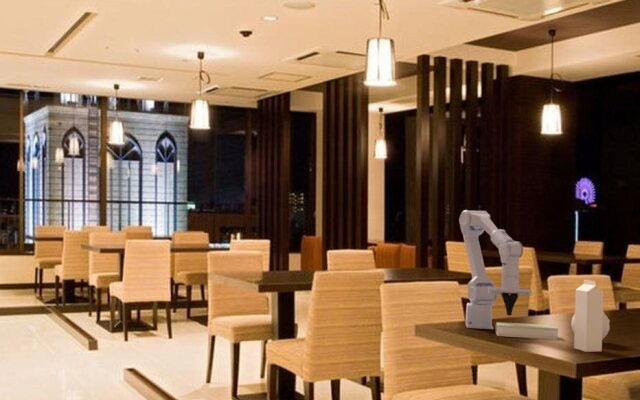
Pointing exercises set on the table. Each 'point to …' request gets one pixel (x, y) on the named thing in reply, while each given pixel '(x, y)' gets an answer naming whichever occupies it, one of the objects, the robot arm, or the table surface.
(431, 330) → the table surface
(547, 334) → the cable duct
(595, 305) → the milk
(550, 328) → the duct lid
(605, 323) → the decorative ball
